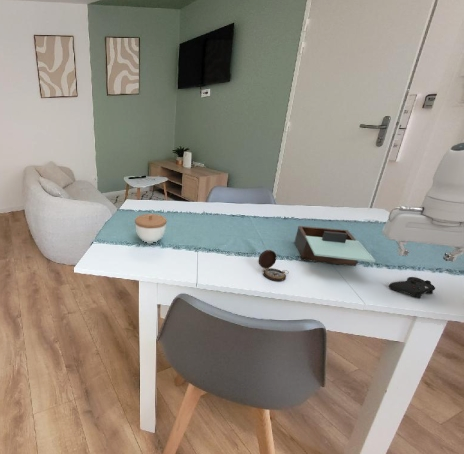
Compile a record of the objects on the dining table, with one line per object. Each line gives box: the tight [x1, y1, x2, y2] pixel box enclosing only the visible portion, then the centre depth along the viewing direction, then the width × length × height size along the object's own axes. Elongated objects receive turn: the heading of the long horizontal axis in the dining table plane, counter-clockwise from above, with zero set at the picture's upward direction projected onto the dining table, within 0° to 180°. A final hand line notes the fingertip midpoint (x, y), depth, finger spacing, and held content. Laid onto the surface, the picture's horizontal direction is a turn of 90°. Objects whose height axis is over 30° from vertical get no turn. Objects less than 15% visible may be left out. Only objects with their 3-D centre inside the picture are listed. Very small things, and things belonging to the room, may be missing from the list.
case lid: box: [305, 231, 376, 263], centre depth 91 cm, size 15×14×4 cm
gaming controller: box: [388, 276, 436, 299], centre depth 81 cm, size 10×5×6 cm
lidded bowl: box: [134, 213, 168, 244], centre depth 118 cm, size 13×13×11 cm
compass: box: [257, 249, 290, 282], centre depth 91 cm, size 8×8×7 cm
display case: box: [294, 225, 358, 267], centre depth 102 cm, size 15×14×7 cm
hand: (424, 257), depth 78 cm, fingers open, 8 cm apart
